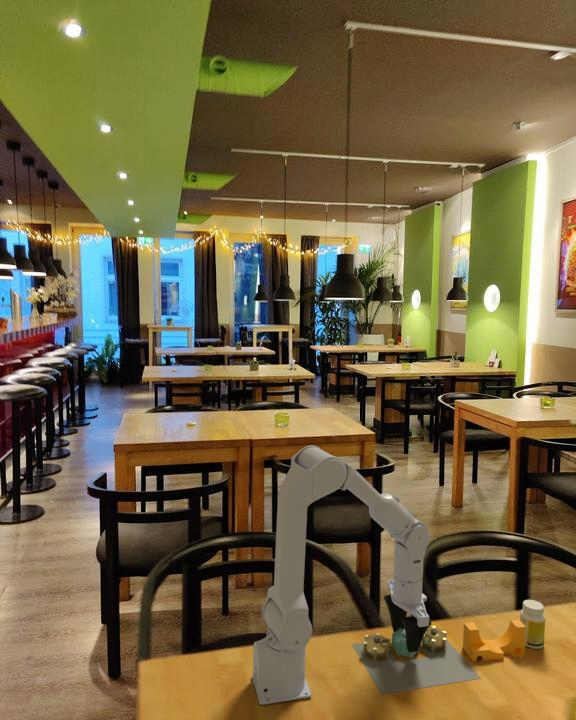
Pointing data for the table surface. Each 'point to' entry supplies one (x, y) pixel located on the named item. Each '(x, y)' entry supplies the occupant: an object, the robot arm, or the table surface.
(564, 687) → the table surface
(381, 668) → the gear board
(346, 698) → the table surface
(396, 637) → the teal gear
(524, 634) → the pipe clamp
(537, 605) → the supplement bottle
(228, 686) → the table surface
